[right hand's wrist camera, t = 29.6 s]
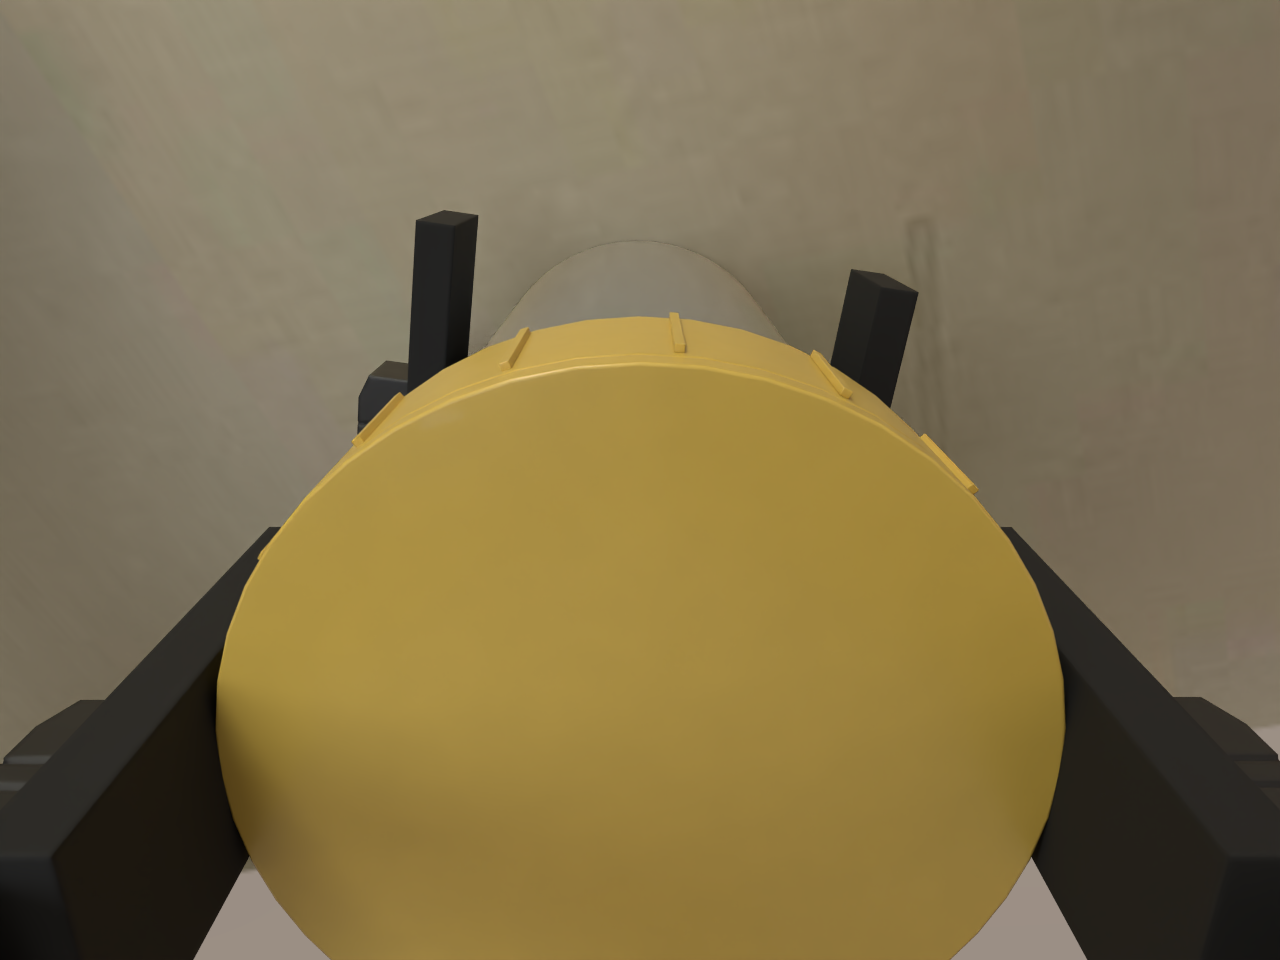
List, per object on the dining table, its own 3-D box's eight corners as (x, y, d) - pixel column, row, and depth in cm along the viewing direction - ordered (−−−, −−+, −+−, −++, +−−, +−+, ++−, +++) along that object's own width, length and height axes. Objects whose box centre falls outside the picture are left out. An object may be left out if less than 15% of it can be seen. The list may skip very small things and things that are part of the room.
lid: (135, 603, 12) (22, 709, 10) (717, 134, 10) (739, 133, 8) (585, 1016, 15) (575, 1173, 12) (1118, 710, 13) (1220, 834, 10)
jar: (839, 383, 27) (1097, 694, 12) (640, 569, 29) (642, 1034, 14) (634, 174, 25) (628, 223, 10) (435, 389, 27) (177, 706, 12)
